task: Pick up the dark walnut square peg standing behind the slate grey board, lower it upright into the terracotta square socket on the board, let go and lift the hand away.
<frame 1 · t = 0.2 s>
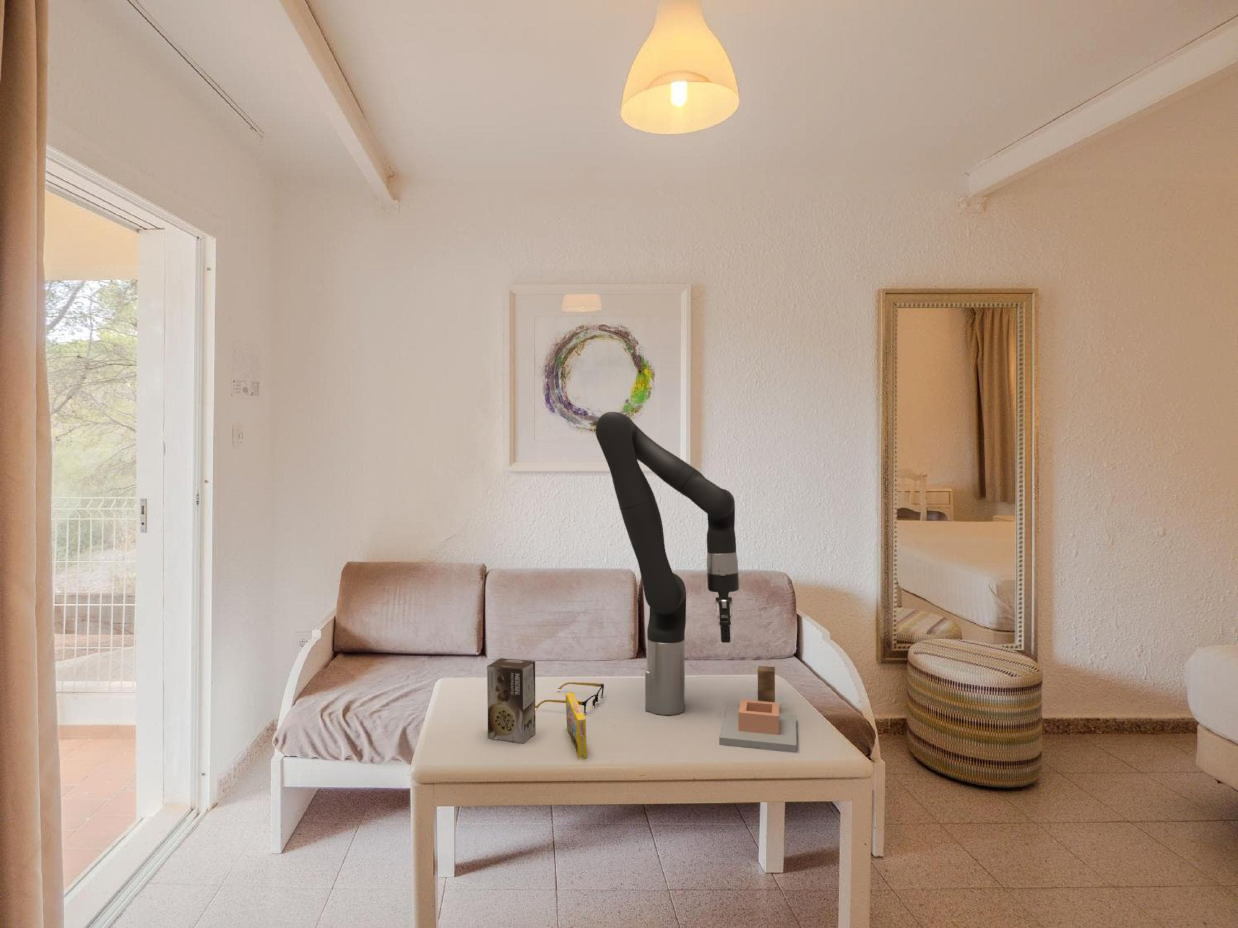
hand: (725, 637, 158), 18 cm above the table, tool pointing down, fingers open, 8 cm apart
socket block: (759, 732, 146), on the table
eyeglasses: (571, 705, 165), on the table
walnut peg: (766, 709, 161), on the table
candy box: (575, 744, 141), on the table
coffee box: (511, 736, 145), on the table
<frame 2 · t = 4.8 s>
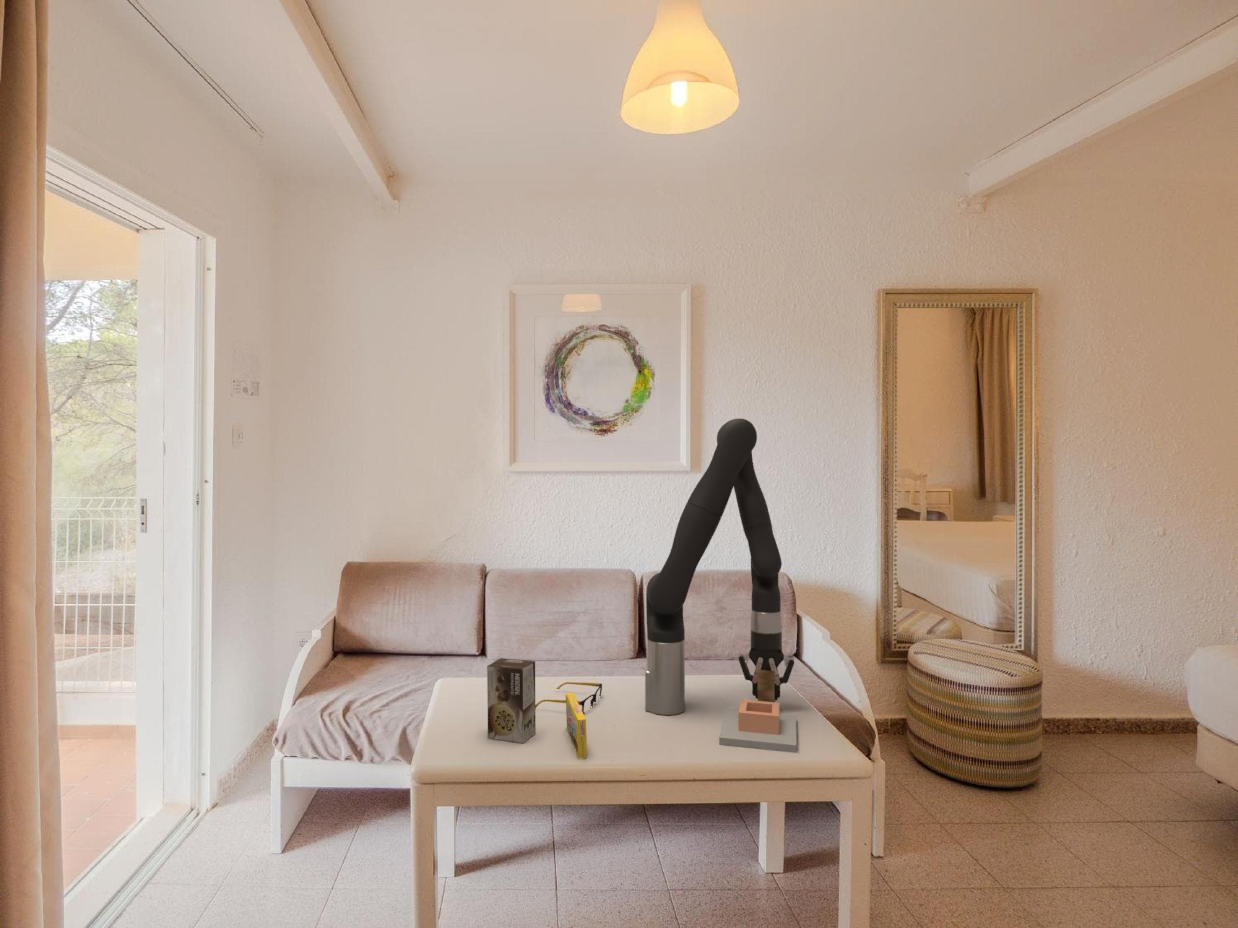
hand: (766, 697, 161), 3 cm above the table, tool pointing down, fingers closed on walnut peg, 4 cm apart
walnut peg: (766, 709, 161), on the table, touching gripper
everything else where it was.
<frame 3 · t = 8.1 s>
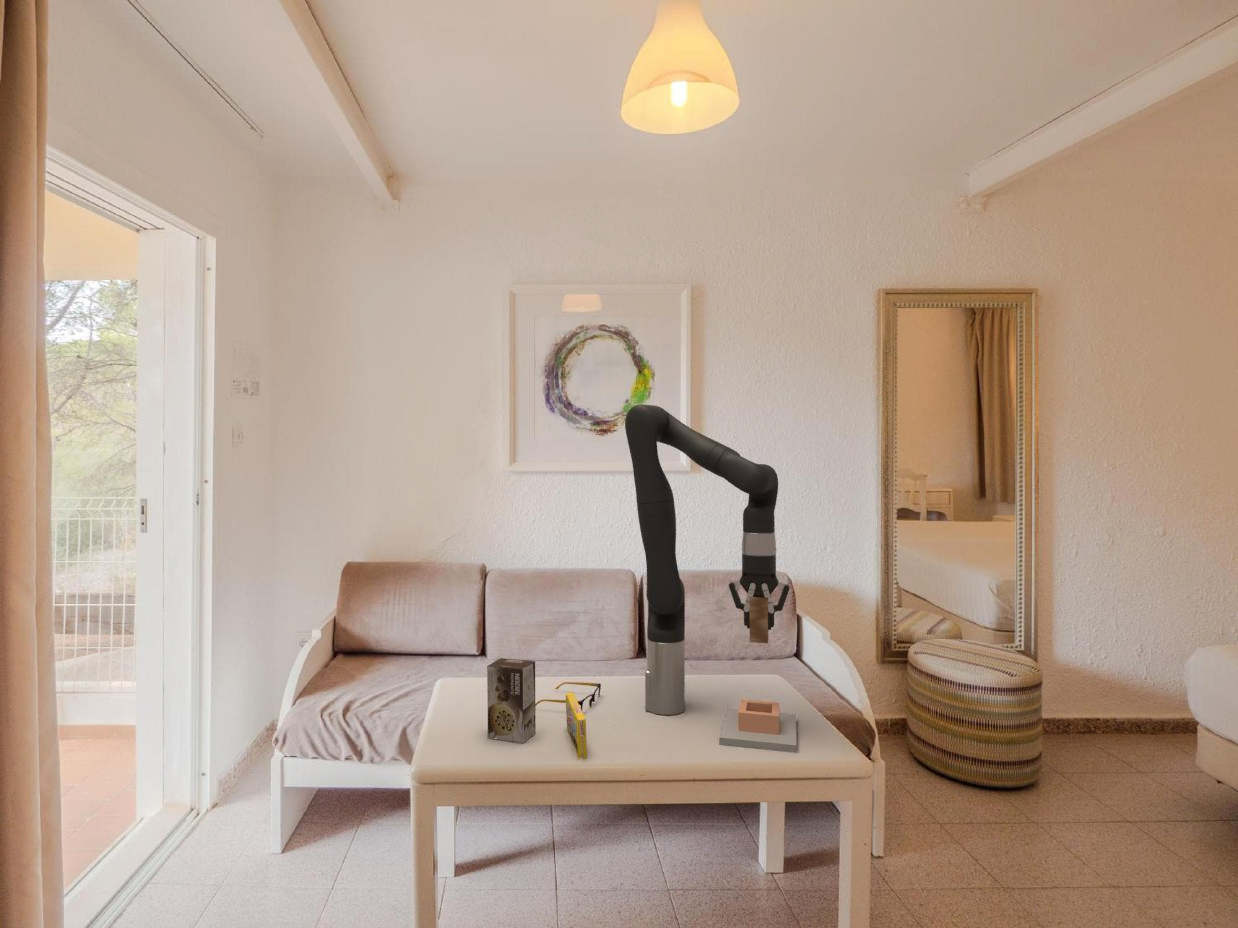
hand: (759, 628, 147), 23 cm above the table, tool pointing down, fingers closed on walnut peg, 4 cm apart
walnut peg: (759, 640, 147), point 20 cm above the table, touching gripper
everything else where it was.
when the fingers open (6 cm above the table, at t = 11.6 s): walnut peg drops 2 cm, resting on socket block.
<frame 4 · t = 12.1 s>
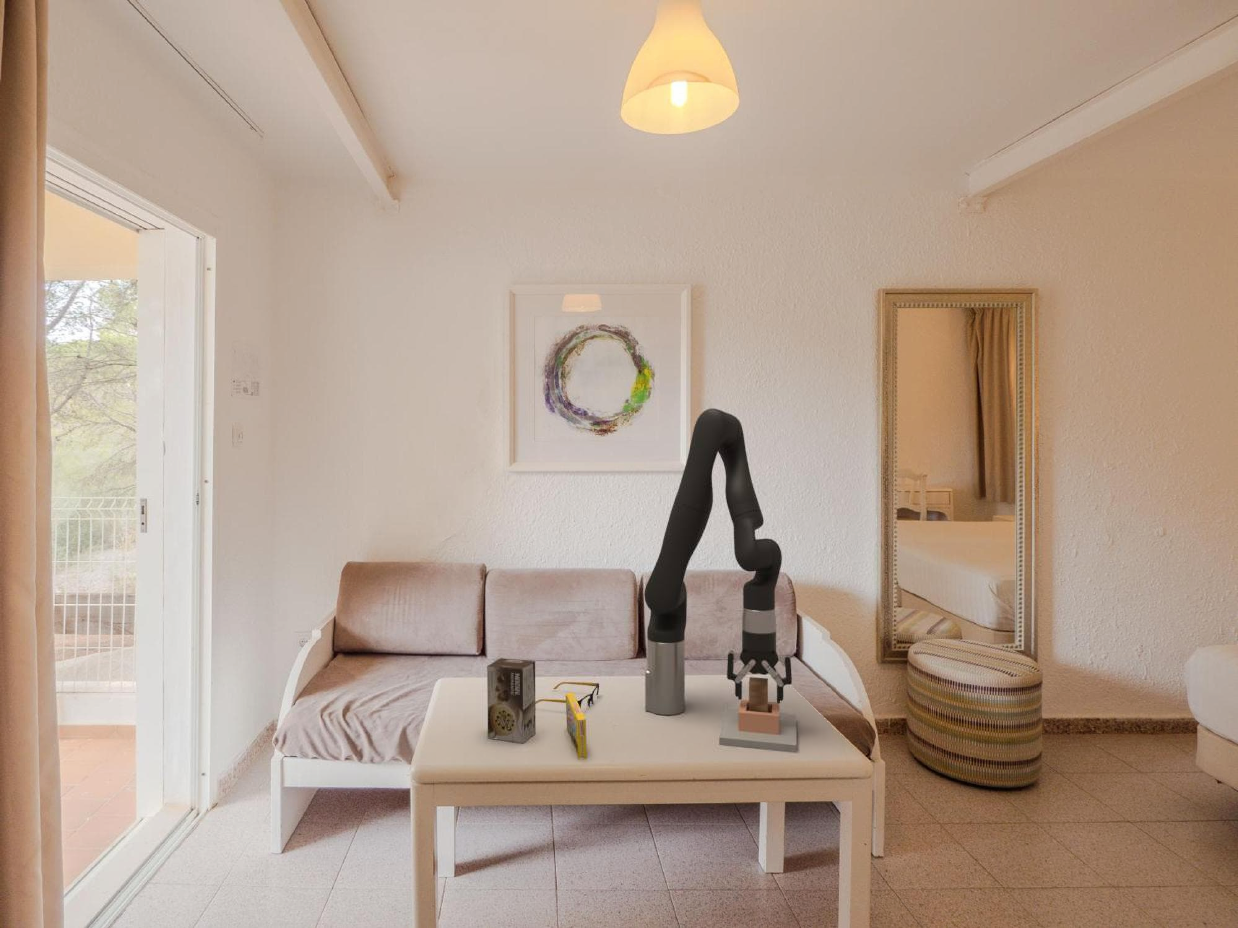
hand: (759, 700, 147), 7 cm above the table, tool pointing down, fingers open, 8 cm apart
walnut peg: (758, 724, 147), point 1 cm above the table, touching socket block
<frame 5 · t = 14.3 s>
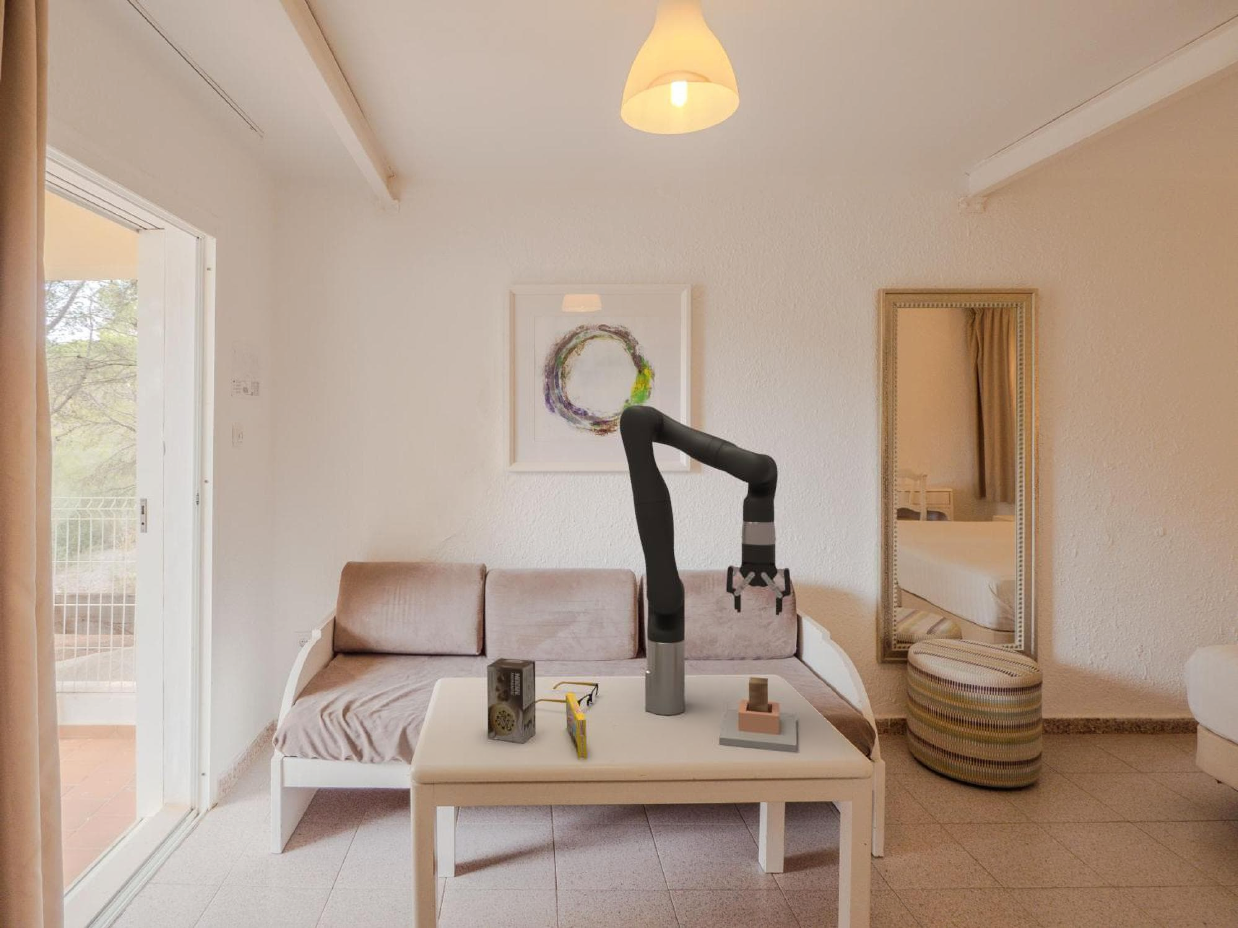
hand: (758, 613, 148), 26 cm above the table, tool pointing down, fingers open, 8 cm apart
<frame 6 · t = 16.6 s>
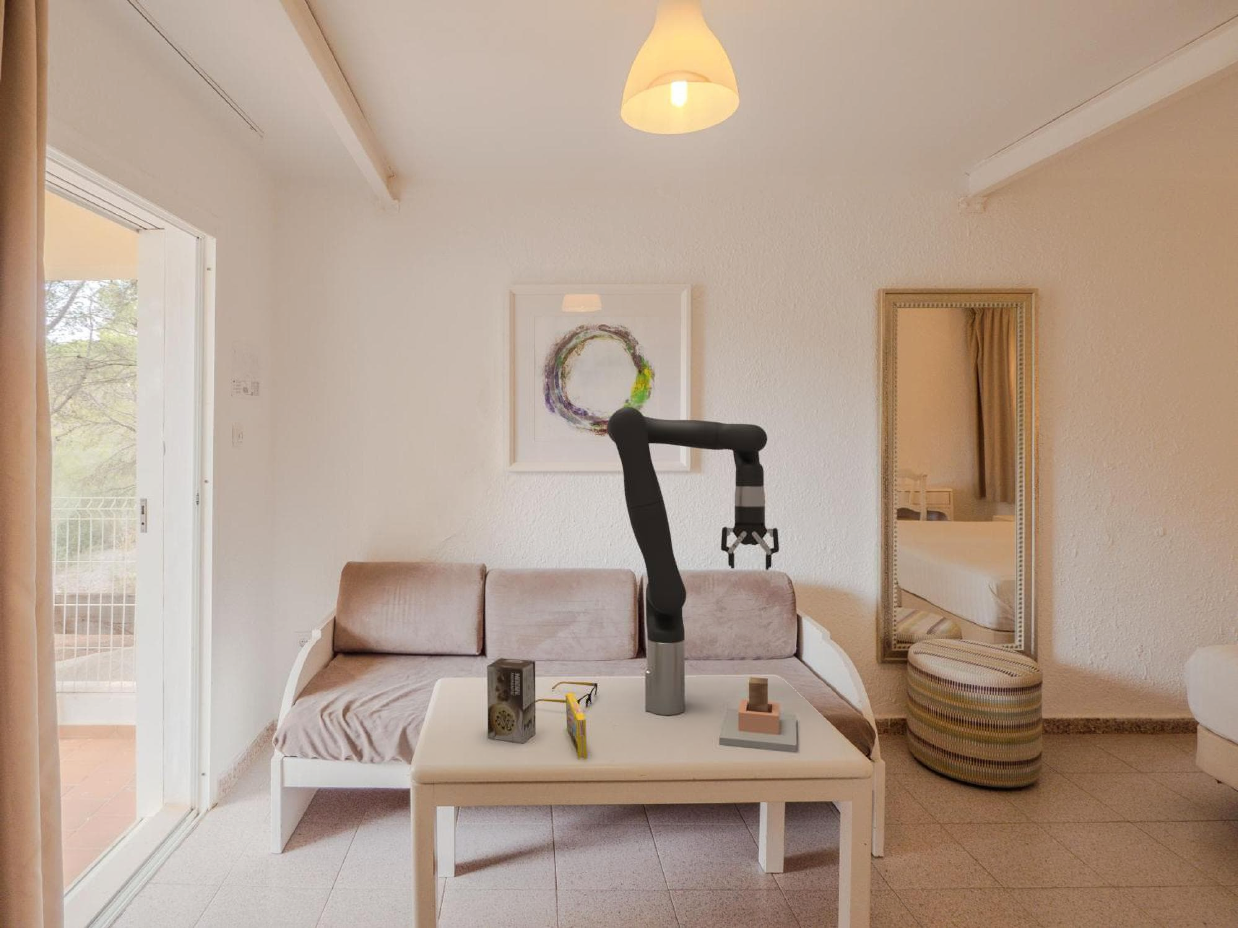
hand: (749, 568, 164), 34 cm above the table, tool pointing down, fingers open, 8 cm apart
at the end: walnut peg 0.2 cm off-centre on the socket block, point 1.5 cm above the socket block's base; walnut peg tilted 0°; the gripper is holding nothing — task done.
